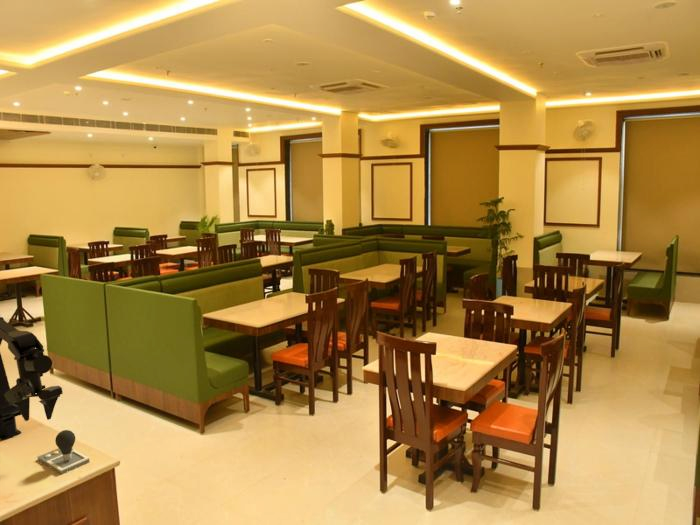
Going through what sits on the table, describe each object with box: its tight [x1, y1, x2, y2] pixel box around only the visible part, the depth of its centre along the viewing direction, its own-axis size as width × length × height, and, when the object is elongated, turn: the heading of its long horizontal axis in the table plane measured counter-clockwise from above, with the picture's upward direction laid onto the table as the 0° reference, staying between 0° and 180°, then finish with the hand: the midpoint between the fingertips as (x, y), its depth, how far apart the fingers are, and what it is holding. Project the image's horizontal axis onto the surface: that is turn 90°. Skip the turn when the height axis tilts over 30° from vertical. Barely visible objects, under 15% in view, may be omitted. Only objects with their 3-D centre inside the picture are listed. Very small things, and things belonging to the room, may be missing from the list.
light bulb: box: [55, 429, 76, 461], centre depth 180 cm, size 6×6×10 cm
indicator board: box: [37, 447, 90, 475], centre depth 183 cm, size 15×9×1 cm, turn 53°
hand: (38, 420), depth 185 cm, fingers open, 9 cm apart
